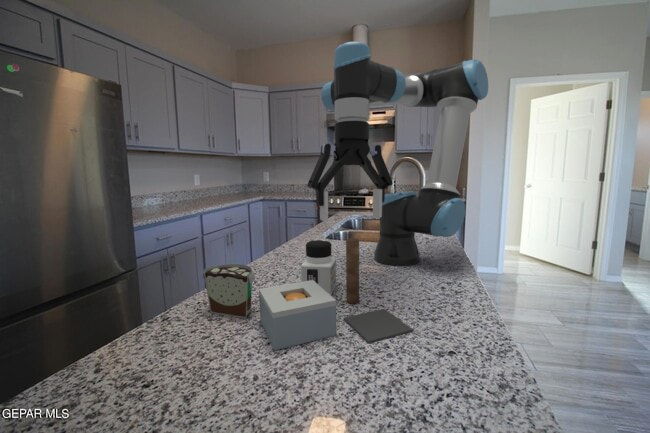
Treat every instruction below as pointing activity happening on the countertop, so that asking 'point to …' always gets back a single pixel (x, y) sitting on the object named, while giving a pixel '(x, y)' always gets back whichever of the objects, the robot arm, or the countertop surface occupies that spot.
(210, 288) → the food container
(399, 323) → the pad
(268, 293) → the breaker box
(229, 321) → the countertop surface
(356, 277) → the stylus
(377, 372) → the countertop surface
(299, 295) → the button
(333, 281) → the container
